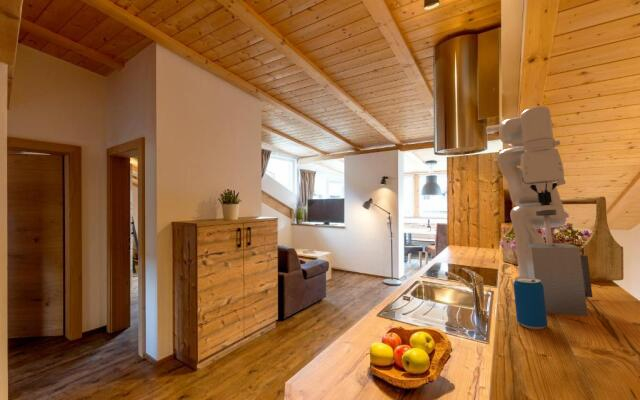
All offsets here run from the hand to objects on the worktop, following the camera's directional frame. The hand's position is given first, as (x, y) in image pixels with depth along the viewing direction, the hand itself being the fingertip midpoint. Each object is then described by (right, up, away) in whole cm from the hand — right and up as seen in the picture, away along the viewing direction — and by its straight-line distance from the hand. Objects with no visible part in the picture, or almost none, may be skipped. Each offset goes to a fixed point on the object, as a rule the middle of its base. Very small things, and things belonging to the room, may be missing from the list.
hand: (545, 205), depth 87 cm
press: (+3, -31, -2) cm, 31 cm away
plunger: (+1, -21, -1) cm, 21 cm away
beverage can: (-14, -32, -13) cm, 37 cm away
